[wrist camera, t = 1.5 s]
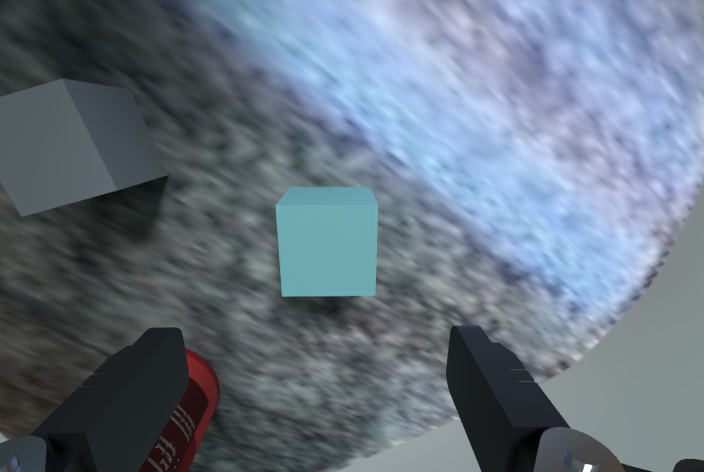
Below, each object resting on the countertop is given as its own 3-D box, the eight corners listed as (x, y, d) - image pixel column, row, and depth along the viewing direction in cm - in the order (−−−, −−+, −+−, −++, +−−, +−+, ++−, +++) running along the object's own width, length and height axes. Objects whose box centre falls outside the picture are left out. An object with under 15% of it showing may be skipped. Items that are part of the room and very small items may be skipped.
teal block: (291, 186, 21) (275, 205, 16) (370, 186, 21) (378, 205, 16) (295, 260, 23) (282, 296, 18) (368, 259, 23) (375, 295, 18)
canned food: (127, 422, 27) (-12, 614, 16) (112, 337, 24) (-64, 500, 14) (224, 426, 27) (150, 615, 17) (219, 342, 24) (128, 505, 14)
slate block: (51, 113, 19) (-44, 110, 15) (131, 89, 19) (61, 78, 14) (94, 195, 21) (21, 216, 16) (169, 174, 21) (117, 190, 16)
